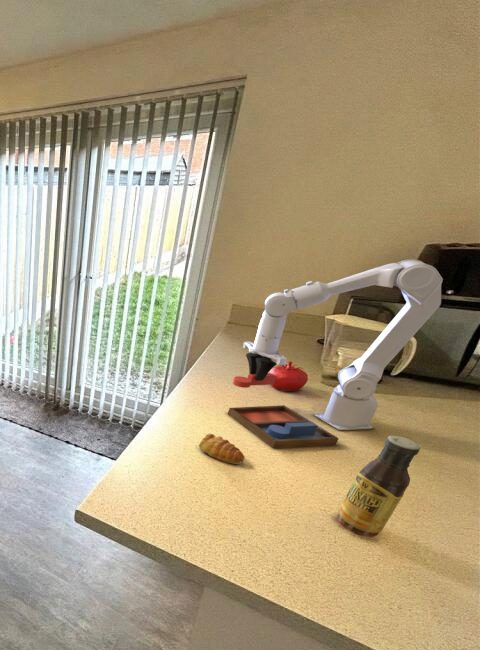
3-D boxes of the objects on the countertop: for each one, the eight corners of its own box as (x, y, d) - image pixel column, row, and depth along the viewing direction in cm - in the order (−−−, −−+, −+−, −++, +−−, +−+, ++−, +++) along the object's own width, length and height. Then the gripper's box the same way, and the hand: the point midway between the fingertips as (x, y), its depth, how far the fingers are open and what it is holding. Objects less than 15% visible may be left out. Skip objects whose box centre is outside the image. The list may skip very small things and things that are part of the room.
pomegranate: (305, 397, 123) (315, 370, 119) (266, 390, 128) (274, 364, 124) (301, 385, 131) (310, 359, 127) (264, 379, 136) (272, 354, 132)
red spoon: (265, 380, 120) (268, 371, 119) (276, 386, 116) (279, 377, 115) (229, 381, 120) (231, 372, 119) (239, 388, 116) (241, 378, 115)
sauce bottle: (326, 516, 78) (364, 431, 70) (355, 513, 78) (396, 428, 70) (359, 542, 72) (404, 452, 64) (390, 539, 72) (439, 450, 64)
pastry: (248, 459, 95) (252, 446, 93) (233, 469, 92) (237, 456, 90) (209, 441, 102) (212, 429, 101) (194, 449, 99) (197, 437, 97)
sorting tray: (282, 411, 115) (284, 405, 114) (336, 445, 99) (339, 438, 99) (227, 413, 115) (229, 407, 114) (273, 448, 99) (275, 441, 98)
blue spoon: (304, 428, 105) (307, 419, 104) (318, 438, 101) (322, 428, 100) (263, 430, 105) (266, 421, 103) (275, 440, 101) (279, 430, 99)
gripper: (238, 328, 118) (227, 369, 124) (274, 344, 105) (261, 389, 110) (260, 327, 119) (249, 368, 124) (300, 343, 105) (285, 388, 111)
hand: (256, 378), depth 117 cm, fingers closed on red spoon, 2 cm apart
